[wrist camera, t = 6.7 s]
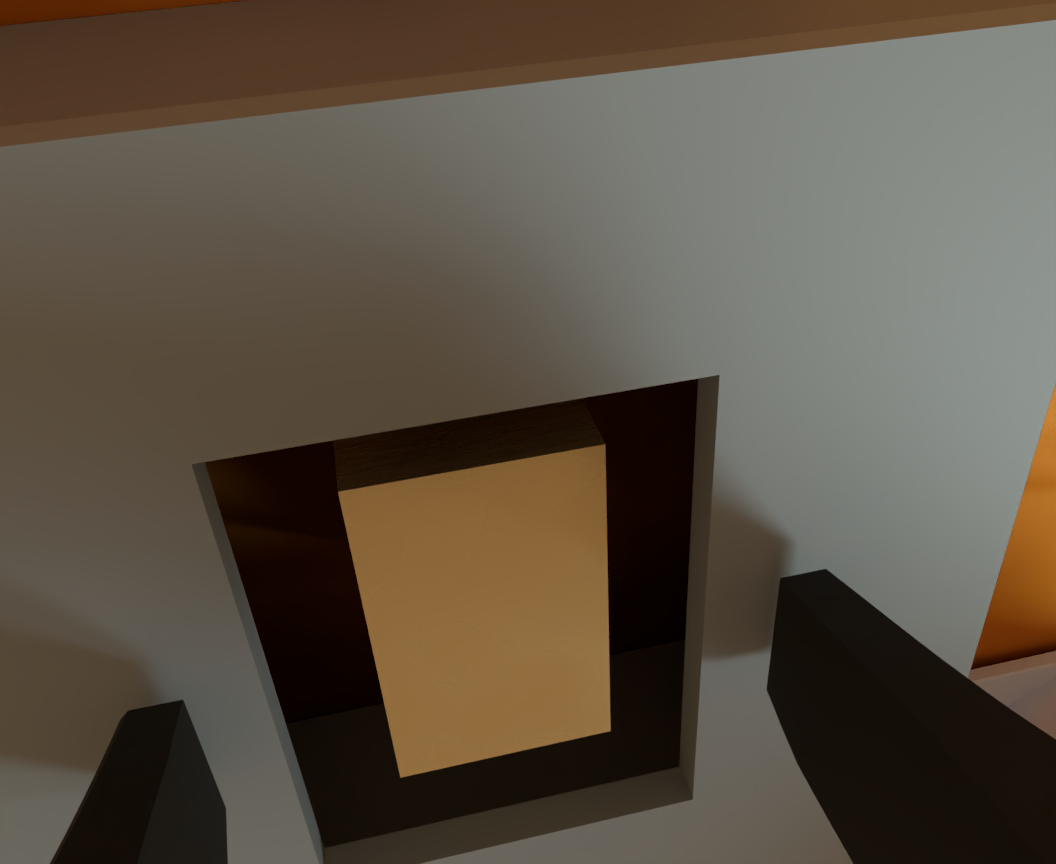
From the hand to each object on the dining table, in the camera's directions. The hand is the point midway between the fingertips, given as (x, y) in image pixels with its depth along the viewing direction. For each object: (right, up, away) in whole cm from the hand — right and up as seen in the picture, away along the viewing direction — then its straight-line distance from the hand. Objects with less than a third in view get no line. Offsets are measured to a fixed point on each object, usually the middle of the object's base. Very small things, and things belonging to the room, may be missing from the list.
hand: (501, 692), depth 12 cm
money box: (-1, +3, +5) cm, 6 cm away
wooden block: (-1, +3, +4) cm, 6 cm away
